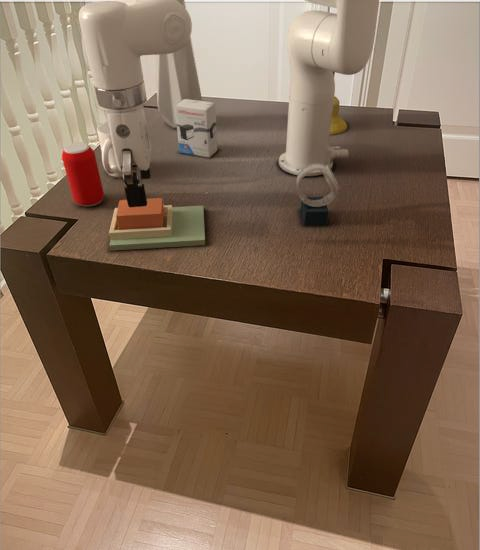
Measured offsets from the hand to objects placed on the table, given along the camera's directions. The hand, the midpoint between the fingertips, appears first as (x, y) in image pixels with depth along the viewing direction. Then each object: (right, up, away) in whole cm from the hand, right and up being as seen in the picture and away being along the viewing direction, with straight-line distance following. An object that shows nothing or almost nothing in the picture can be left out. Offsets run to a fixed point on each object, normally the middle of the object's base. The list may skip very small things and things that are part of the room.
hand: (140, 191), depth 82 cm
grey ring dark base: (+32, -4, +8) cm, 34 cm away
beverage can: (-13, 0, +13) cm, 19 cm away
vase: (+2, +27, +46) cm, 54 cm away
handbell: (+41, +26, +44) cm, 66 cm away
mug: (-9, +8, +23) cm, 26 cm away
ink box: (+8, +16, +32) cm, 36 cm away
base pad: (+3, -6, +5) cm, 9 cm away
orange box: (0, -6, +4) cm, 7 cm away
